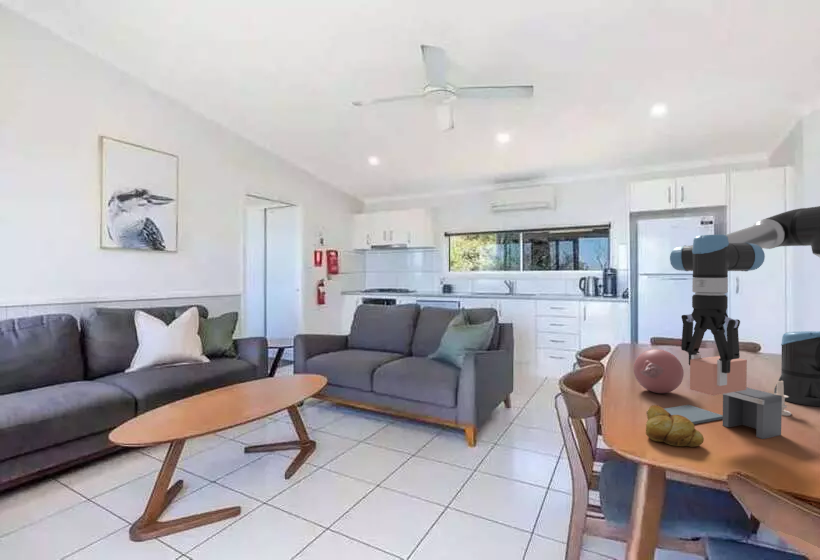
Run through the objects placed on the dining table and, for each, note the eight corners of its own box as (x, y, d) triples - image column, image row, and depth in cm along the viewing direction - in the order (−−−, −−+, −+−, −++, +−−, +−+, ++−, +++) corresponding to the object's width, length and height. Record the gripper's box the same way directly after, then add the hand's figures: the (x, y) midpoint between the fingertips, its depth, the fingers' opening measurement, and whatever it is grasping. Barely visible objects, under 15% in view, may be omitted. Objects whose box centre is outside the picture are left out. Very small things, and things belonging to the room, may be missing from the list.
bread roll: (706, 443, 106) (707, 412, 106) (698, 456, 99) (698, 422, 99) (650, 430, 115) (650, 401, 115) (639, 440, 108) (639, 410, 108)
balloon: (619, 393, 148) (620, 350, 148) (644, 384, 160) (644, 344, 160) (667, 404, 136) (668, 357, 136) (690, 393, 148) (690, 350, 148)
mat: (688, 407, 134) (688, 404, 134) (724, 418, 123) (724, 415, 123) (646, 414, 127) (646, 411, 127) (680, 426, 117) (680, 423, 117)
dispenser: (739, 421, 121) (740, 385, 120) (782, 435, 111) (782, 396, 110) (719, 425, 118) (720, 388, 117) (761, 439, 108) (762, 399, 108)
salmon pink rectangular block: (722, 383, 116) (722, 355, 116) (746, 389, 111) (746, 359, 110) (689, 389, 112) (690, 359, 111) (713, 395, 106) (713, 364, 106)
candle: (766, 412, 128) (767, 378, 128) (770, 408, 132) (771, 376, 131) (789, 417, 124) (790, 382, 124) (792, 413, 128) (793, 379, 127)
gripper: (665, 292, 117) (664, 374, 117) (739, 296, 99) (738, 393, 100) (684, 291, 119) (683, 372, 120) (759, 295, 102) (758, 389, 102)
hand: (708, 381), depth 110 cm, fingers closed on salmon pink rectangular block, 6 cm apart
